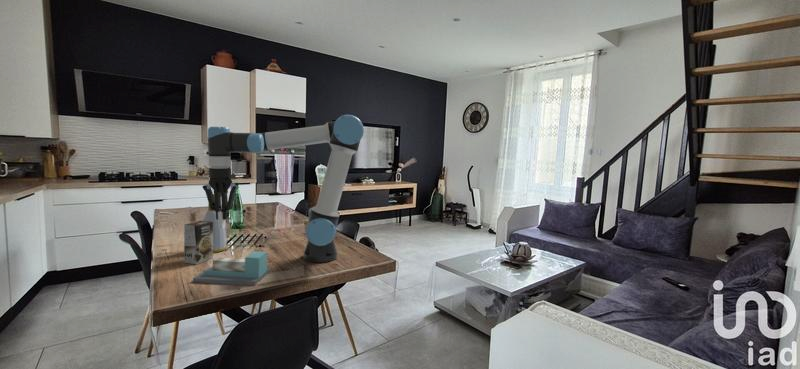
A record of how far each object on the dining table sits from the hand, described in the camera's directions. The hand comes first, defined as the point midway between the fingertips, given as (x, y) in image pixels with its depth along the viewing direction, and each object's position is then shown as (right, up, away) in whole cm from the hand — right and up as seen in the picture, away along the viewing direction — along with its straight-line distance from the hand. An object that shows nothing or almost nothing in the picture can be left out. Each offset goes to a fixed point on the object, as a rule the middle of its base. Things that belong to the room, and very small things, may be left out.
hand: (222, 227), depth 133 cm
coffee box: (-15, -15, +10) cm, 23 cm away
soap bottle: (-17, -14, +25) cm, 33 cm away
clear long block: (+8, -16, -6) cm, 19 cm away
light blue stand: (+7, -18, -5) cm, 20 cm away
